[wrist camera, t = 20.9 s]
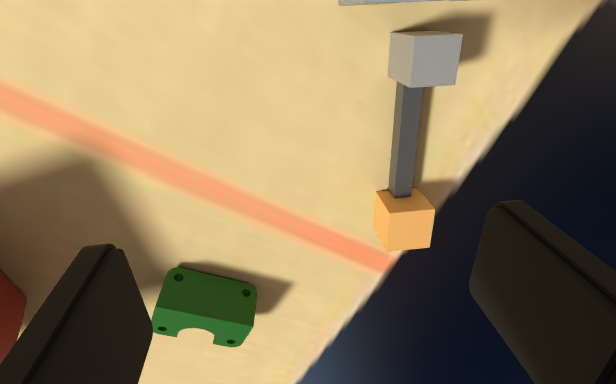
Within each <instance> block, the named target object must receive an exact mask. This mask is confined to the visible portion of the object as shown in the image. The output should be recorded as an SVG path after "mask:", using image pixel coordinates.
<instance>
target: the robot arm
mask: <svg viewBox="0 0 616 384" xmlns="http://www.w3.org/2000/svg"><path fill="white" fill-rule="evenodd" d="M469 288H470V292H471V294H472V296H473V298H474V299H475V300H476V302H477V303H478V305H479V306H480V307H481V309H482V310H483V312H484V313H485V314H486V316H487V317H488V319H489V320H490V321H491V323H492V324H493V325H494V327H495V328H496V330H497V331H498V332H499V334H500V335H501V336H502V338H503V339H504V341H505V342H506V343H507V345H508V346H509V348H510V349H511V350H512V352H513V353H514V355H515V356H516V357H517V359H518V360H519V361H520V363H521V364H522V366H523V367H524V368H525V370H526V371H527V373H528V374H529V375H530V377H531V378H532V380H533V381H534V382H535V384H616V272H615V271H614V270H612V269H611V268H610V267H609V266H607V265H606V264H605V263H603V262H602V261H601V260H599V259H598V258H597V257H595V256H594V255H593V254H591V253H590V252H589V251H588V250H586V249H585V248H584V247H582V246H581V245H580V244H578V243H577V242H576V241H574V240H573V239H572V238H571V237H569V236H568V235H567V234H565V233H564V232H563V231H561V230H560V229H559V228H558V227H556V226H555V225H554V224H552V223H551V222H550V221H548V220H547V219H546V218H544V217H543V216H542V215H541V214H539V213H538V212H537V211H535V210H534V209H533V208H531V207H530V206H528V205H527V204H526V203H525V202H523V201H521V200H513V201H503V202H497V203H495V205H494V206H493V208H491V209H489V211H488V213H487V216H486V220H485V223H484V228H483V231H482V236H481V239H480V243H479V247H478V251H477V255H476V259H475V262H474V267H473V270H472V274H471V278H470V282H469ZM152 335H153V326H152V322H151V320H150V317H149V315H148V312H147V309H146V307H145V304H144V302H143V299H142V297H141V294H140V292H139V289H138V287H137V284H136V281H135V279H134V276H133V274H132V271H131V269H130V266H129V264H128V261H127V259H126V256H125V253H124V252H123V250H122V249H116V247H115V246H114V245H113V244H102V245H93V246H86V247H83V248H82V249H81V251H80V252H79V253H78V255H77V256H76V258H75V259H74V261H73V262H72V263H71V265H70V266H69V268H68V269H67V270H66V272H65V273H64V275H63V276H62V278H61V279H60V280H59V282H58V283H57V285H56V286H55V288H54V289H53V290H52V292H51V293H50V295H49V296H48V297H47V299H46V300H45V302H44V303H43V305H42V306H41V307H40V309H39V310H38V312H37V313H36V314H35V316H34V317H33V319H32V320H31V322H30V323H29V324H28V326H27V327H26V329H25V330H24V331H23V333H22V334H21V336H20V337H19V339H18V340H17V341H16V343H15V344H14V346H13V347H12V349H11V350H10V351H9V353H8V354H7V356H6V357H5V358H4V360H3V361H2V363H1V364H0V384H138V382H139V378H140V375H141V372H142V369H143V366H144V362H145V359H146V356H147V353H148V350H149V346H150V343H151V340H152Z"/></svg>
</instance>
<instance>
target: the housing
mask: <svg viewBox="0 0 616 384" xmlns="http://www.w3.org/2000/svg"><path fill="white" fill-rule="evenodd" d="M417 1H441V0H339V6H345V5H370V4H385V3H398V2H417ZM450 1H466V0H450Z"/></svg>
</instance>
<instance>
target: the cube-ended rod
mask: <svg viewBox="0 0 616 384" xmlns="http://www.w3.org/2000/svg"><path fill="white" fill-rule="evenodd" d="M462 38H463V34H460V33H450V32H441V31H411V32H391V35H390V50H389V65H388V77H390V78H392V79H394V80H396V81H397V87H396V100H395V113H394V125H393V138H392V150H391V163H390V176H389V188H388V191H376V198H375V215H374V229H375V231H376V233H377V234H378V236H379V238H380V240H381V242H382V244H383V246H384V248H385V250H386V252H388V251H398V250H408V249H417V248H427V247H430V240H431V234H432V227H433V221H434V215H435V208H434V207H433V206H432V205H431V204H430V202H429V201H428V200H427V199H426V198H425V197H424V195H423V194H422V193H421V192H420V191H419V190H418V189H417V188H412V185H413V176H414V167H415V159H416V150H417V141H418V133H419V124H420V115H421V107H422V98H423V89H424V87H431V86H447V85H455V83H456V76H457V70H458V63H459V57H460V51H461V44H462Z"/></svg>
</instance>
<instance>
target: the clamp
mask: <svg viewBox="0 0 616 384" xmlns="http://www.w3.org/2000/svg"><path fill="white" fill-rule="evenodd" d="M256 299H257V291H256V289H255V288H254V287H253V286H252V285H250V284H247V283H243V282H239V281H235V280H230V279H226V278H222V277H218V276H214V275H209V274H205V273H201V272H197V271H193V270H188V269H184V268H173V269H171V270H170V271H169V272H168V273H167V275H166V278H165V281H164V284H163V287H162V289H161V292H160V295H159V298H158V300H157V303H156V306H155V309H154V313H153V316H152V320H151V322H152V326H153V332H154V333H157V334H162V335H167V336H172V337H177V334H178V332H179V331H180V330H182V329H186V328H200V329H204V330H207V331H209V332H211V333H213V334H214V335H215V336H214V341H213V344H216V345H222V346H227V347H237V346H240V345H241V344H242V343H243V342H244V340H245V338H246V337H247V335H248V334H249V332H250V331H251V329H252V328H253V325H254V317H255V308H256Z"/></svg>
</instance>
